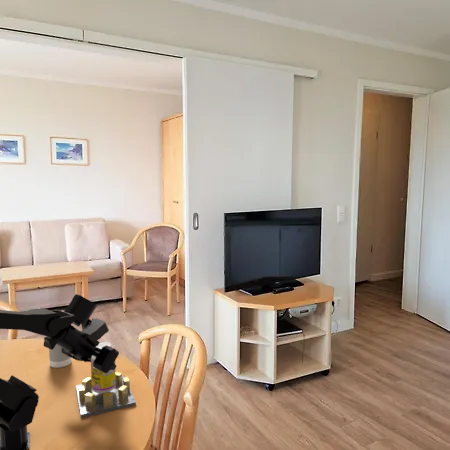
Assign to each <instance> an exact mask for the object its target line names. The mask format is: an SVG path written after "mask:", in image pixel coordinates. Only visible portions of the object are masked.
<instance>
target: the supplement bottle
mask: <svg viewBox="0 0 450 450" xmlns="http://www.w3.org/2000/svg"><path fill="white" fill-rule="evenodd" d="M104 346H109V347H112V343H110V342H109V341H107V342H106V341H104V342H100V343H99V345H98V346H96V347H97V348H99V349H102V347H104ZM112 348H113V347H112ZM95 352H96V351H95ZM97 353H98V352H97ZM95 359H96V357H94V356H92V358H91V362H90V367H91V368H90V369H91V370H90V371H91V372H90V373H91V374H90V375H91V377H90V378H91V384H92V390H93V391H94V392H96V393H107V392H110V391H112V390H113V389H114V388H115V386H116V372H117V371H116V369H115V370H109V372H108V373H103V372H101V371H99V370H97V369H95V368H94V367H93V362H94V360H95ZM114 363H115V364H116V361H115V362H114Z"/></svg>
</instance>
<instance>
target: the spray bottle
mask: <svg viewBox="0 0 450 450" xmlns="http://www.w3.org/2000/svg"><path fill="white" fill-rule="evenodd" d="M61 311H64V310H61ZM61 348H62V347H60V346H58V345H57V344H56V346H55V347H54V349H53V350H51V349H49V348H48V351H49V352H48V353H49V356H48V357H49V365H50V367H52V368H55V369H56V368H57V369H58V368H64V367H66V366H69V365H70V364H71V363H72V361H73V360H72V357H68V356H66V355H65V354H63V353H62V350H61Z"/></svg>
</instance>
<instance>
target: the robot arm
mask: <svg viewBox="0 0 450 450" xmlns="http://www.w3.org/2000/svg"><path fill="white" fill-rule="evenodd" d="M97 307H98V305H97V304H96V303H94V302H93V301H91V300H89V299H87V298H86V297H84V296H83V295H81V294H77V293H75V294H74V296H73V297H72V299H71V300H70V302H69V304H68V305H67V306H66V308H65V310H63V311H62V310H60V309H52V310H49V309H46V308H42V307H41V308H33V309H32V308H31V309H28V310H25V311H17V310H15V311H14V310H7V309H6V310H5V309H3V310H2V309H0V330H12V331H13V330H14V331H15V330H17V331H27V332H30V333H33V334H36V335H37V334H38V335H41V336H44V337H43V347H44V348H47V349H48V350H49V349H51V350H53V349H54V347H55V346H56V344H57V345H58V346H60V347H62V348H61V350H62V353H63V354H65V355H66V356H68V357H71V359H74V360H76V361H78V362H84V363H91V358H92V356H94V357H96V359H95V360H94V362H93V367H94V368H95V369H97V370H99V371H101V372H103V373H108V372H109V370H115V371H116V368H117V364H116V360H117V358H118V357H119V355H120V351H119V350H118V349H116V348H114V347H109V346H104V347H102V349H99V348H97V347H96V346H98V345H99V343H101V342H100V341H99V340H100V339H101V338H102V337H104V335H106V334H108V333H109V330H110V329H109V327H108V325H107V323H106V321H105V320H103V319H100V318H97V317H96V318H94V317H92V315H93V313H94V312H95V310H96V309H97ZM91 317H92V319H90V318H91ZM73 325H74V326H73ZM75 326H76V327H80V326H81V330H79V329H78V328H76V327H75ZM95 351H96V352H95ZM97 352H98V353H97ZM114 362H115V363H114ZM39 398H40V396H39V394H38V393H37V388H35V387H33V386H31V385H30V384H28V383H27V382H25V381H23V380H22V379H20V378H18V377H16V376H15V375H13V374H11V376H9V378H8V380H7V379H3V378H1V377H0V450H30V446H31V445H30V444H31V443H30V442H31V439H30V438H31V433H30V432H29V431H28V425H30V424H32V423H33V420H34V416H35V412H36V408H37V407H38V403H39Z"/></svg>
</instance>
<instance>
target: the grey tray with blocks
mask: <svg viewBox="0 0 450 450" xmlns="http://www.w3.org/2000/svg"><path fill="white" fill-rule="evenodd" d="M115 372H116V386H115V388H114V389H113V390H112V391H110V392H107V393H96V392H94V391H93V390H92V384H91V377H86V378H84V379H83V380H82V381H81V384H77V385H75V392H76V397H77V398H76V399H77V402H78V403H77V404H78V408H79V409H78V410H79V414H80V419H84V418H89V417H92V416H96V415H100V414H104V413H105V414H107V413H109V412H110V413H111V412H114V411H117V410H122V409H126V408H132V407H134V406H137V402H136V400H135V397H134V395H133V392H132V390H131V388H130V379H129V376H126V375H123V372H118V371H115Z"/></svg>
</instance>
